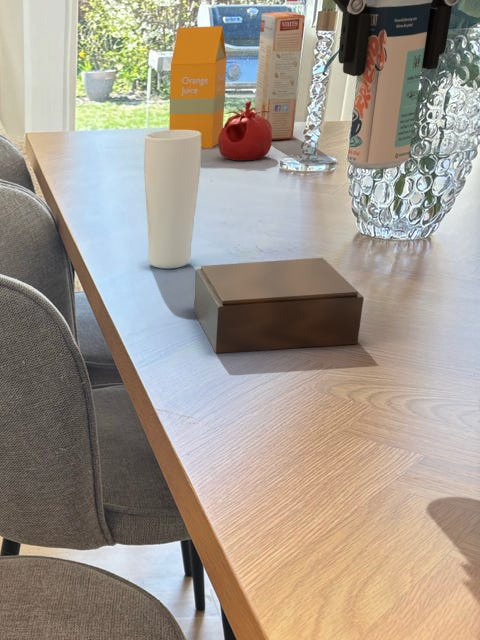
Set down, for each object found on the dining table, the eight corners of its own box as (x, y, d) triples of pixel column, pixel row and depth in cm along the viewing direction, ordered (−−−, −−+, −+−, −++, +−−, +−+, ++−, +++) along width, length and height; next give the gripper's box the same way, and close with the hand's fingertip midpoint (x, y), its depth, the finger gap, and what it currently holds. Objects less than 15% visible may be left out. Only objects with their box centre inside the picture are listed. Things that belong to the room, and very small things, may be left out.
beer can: (346, 160, 82) (366, -14, 75) (408, 158, 80) (434, -19, 73) (344, 172, 78) (364, -9, 71) (408, 170, 77) (436, -15, 70)
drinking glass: (140, 258, 129) (142, 131, 121) (192, 255, 129) (198, 127, 120) (144, 273, 124) (147, 140, 115) (199, 269, 123) (205, 136, 115)
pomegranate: (255, 150, 187) (259, 95, 182) (281, 158, 179) (286, 100, 174) (207, 156, 185) (209, 100, 180) (230, 165, 177) (234, 106, 172)
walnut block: (320, 302, 109) (326, 255, 107) (357, 344, 98) (364, 292, 95) (193, 311, 110) (195, 264, 107) (215, 353, 99) (218, 302, 96)
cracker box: (294, 139, 194) (306, 13, 182) (263, 141, 194) (273, 16, 182) (281, 128, 205) (291, 9, 193) (251, 130, 206) (260, 12, 194)
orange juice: (180, 140, 202) (183, 26, 190) (222, 141, 198) (229, 23, 187) (168, 147, 196) (171, 29, 184) (211, 148, 192) (217, 27, 181)
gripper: (316, -243, 62) (289, 86, 73) (590, -270, 62) (523, 65, 72) (286, -226, 68) (265, 75, 79) (534, -250, 68) (480, 56, 78)
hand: (389, 67), depth 75 cm, fingers closed on beer can, 4 cm apart
